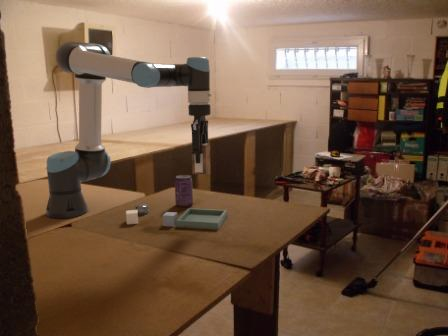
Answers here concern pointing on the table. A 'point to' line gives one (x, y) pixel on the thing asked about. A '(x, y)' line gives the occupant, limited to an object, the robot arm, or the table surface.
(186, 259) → the table surface
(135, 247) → the table surface
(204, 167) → the walnut block
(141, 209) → the grey metal puck
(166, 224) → the slate-blue block
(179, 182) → the beverage can
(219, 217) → the tray
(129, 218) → the cream cube
